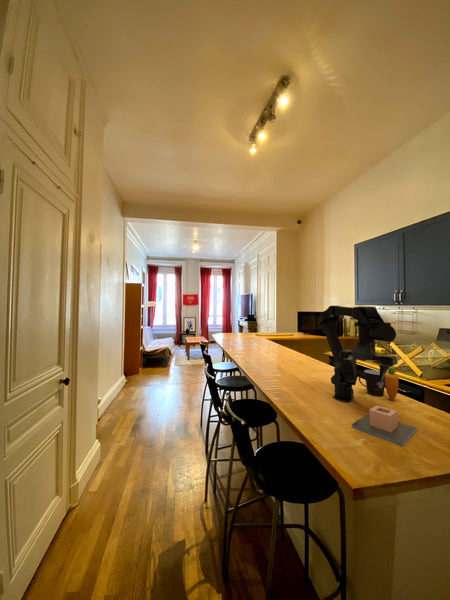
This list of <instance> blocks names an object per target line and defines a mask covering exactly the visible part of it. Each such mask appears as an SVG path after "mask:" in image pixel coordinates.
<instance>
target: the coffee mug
mask: <svg viewBox="0 0 450 600" xmlns="http://www.w3.org/2000/svg"><path fill="white" fill-rule="evenodd" d="M363 373H364V374H362V375H359V376H358V381H359V383H360V384H361V385H362V386H363V387H365V388H366V392H367V394H368V395H370V396H373V397H377V398H378V397H384V396H385V395H384V393H385V389H386V387H385V376H384V378H383V381H382V382H381V383H380V381H379V375H380V370H376V369H374V370H373V369H365V370H364V372H363ZM363 377H364V378H365V384H364V383H362V381H361V378H363Z"/></svg>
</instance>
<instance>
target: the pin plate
mask: <svg viewBox="0 0 450 600" xmlns="http://www.w3.org/2000/svg"><path fill="white" fill-rule="evenodd" d="M384 413H385V412H384ZM397 424H398V427H397V428H396V429H394V430H393V431H392V432H388V431H385V430H382V429H379V428H376V427H373V426H370V415H369V413H367V414H366V415H364V416H363V417H361V418H360V419H358V420H356V421H355V422H353V423H351V428H353V429H355V430H358V431H360V432H364V433H366V434H369V435H371V436H374V437H376V438H380V439H383V440H385V441H387V442H390V443H393V444H396V445H398V446H402V447H404V446H405V444H407V443H408V441H409V440H410V439H411V438H412V437H414V435H415V434H416V433H417V431H418V430H417V429H418V428H417V427H415V426H412V425H409V424H406V423H402V422H399V421H397Z"/></svg>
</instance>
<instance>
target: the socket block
mask: <svg viewBox="0 0 450 600" xmlns="http://www.w3.org/2000/svg"><path fill="white" fill-rule="evenodd" d="M368 412H369V413H368V414H369V415H370V426H373V427H376V428H379V429H382V430H385V431H388V432H392V431H393V430H394V429H396V428H397V427H398V424H397V422H398V410H394V409H391V408H387V407H383V406H380V405H377V404H376V405H375V406H373V407H371V408H369V411H368ZM384 412H385V413H384Z"/></svg>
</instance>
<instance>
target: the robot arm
mask: <svg viewBox="0 0 450 600" xmlns="http://www.w3.org/2000/svg"><path fill="white" fill-rule="evenodd" d="M340 316H344V317H350V318H352V319H353V320H356V322H355V323H354V324H353V326H354V327H357V341H356V346H355V347H353V348H352V349H344V348H343V346H342V343H341V340H340V338H339V335H338V332H337V328H338V322H339V320H340ZM316 323H317V326H318V328H319V329H320V331H321V332H322V333H324V334H325V337H326V340H327V343H328V345H329V348H330V351H331V355H332V358H333V360H334V369H333V371H334V374H333V375H332V376H331V377H330V382H331V384H332V385H334V396H332V398H333V399H335V400H339V401H341V402H345V403H349V402H352V401H353V400H355V397H354V394H355V393H354V389H353V386H356V384H357V381H358V379H359V375H358V370H357V361H361V362H367V360H369V361H376V362H379V363H380V364H379V365H378V366H379V367H378V368H379V371H380V375H379V381H380V383H381V382H382V381H383V378H384V376H385V374H387V372H388V369H389V368H390V367H394V366H396V365H398V364H399V363H398V358H397V356H396V355H389V354H383V355H380V356H379V355H377V354H378V353H377V351H376V345H377V342H379V341H380V342H384V343H391V342H394V341H395V339H396V338H397V337H396V336H397V331H396V330H395V328H394V327H393V326H392V323H391V322H389V321H388V322H385V321H384V319H383V318H382V315H380V314H379V311H378V309H377V307H376V306H370V305H369V306H367V305H366V306H362V305H361V306H359V305H358V306H353V307H351V306H341V305H330V306H328V308H326V309H325V310H324V311H323V312H320V314H319V315H318V317H317V319H316Z"/></svg>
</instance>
